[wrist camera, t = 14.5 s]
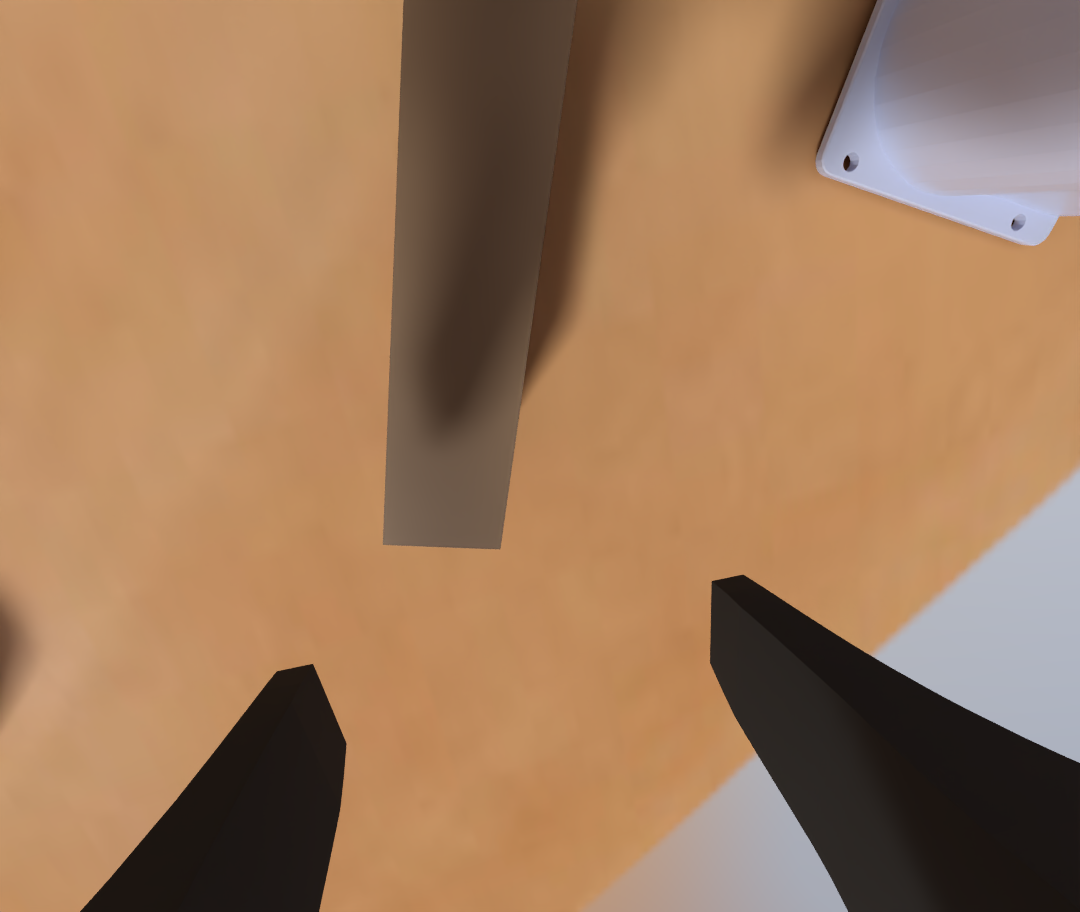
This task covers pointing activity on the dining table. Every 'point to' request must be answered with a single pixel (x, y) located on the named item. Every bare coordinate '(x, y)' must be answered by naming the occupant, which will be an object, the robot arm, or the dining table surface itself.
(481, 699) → the dining table surface
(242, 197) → the dining table surface
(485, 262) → the dark wooden brick
